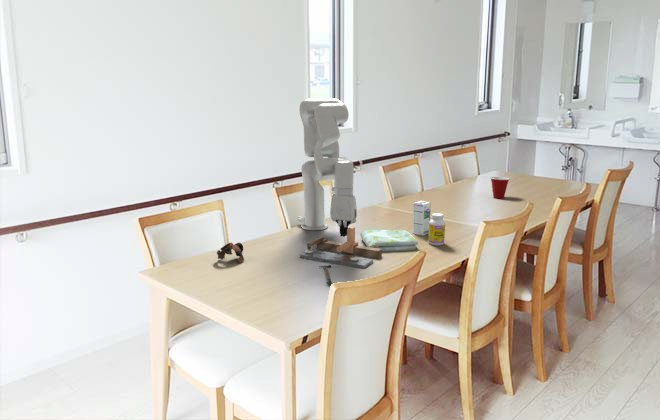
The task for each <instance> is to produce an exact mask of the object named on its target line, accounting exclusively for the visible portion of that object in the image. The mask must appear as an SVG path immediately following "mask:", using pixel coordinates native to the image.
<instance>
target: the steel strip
mask: <svg viewBox="0 0 660 420" xmlns="http://www.w3.org/2000/svg"><path fill="white" fill-rule="evenodd" d="M300 258H301V259H306V260H312V261H319V262H323V263H329V264H336V265H341V266H348V267H353V268H358V269H366V268H367V267H369V266H370V265H372V264H373V262H374V259H373V258H366V257H361V256H358V255H348V254H342V253H341V254H340V255H338V254H337V252H330V251H325V250H324V251H323V250H319V249H317V250H316V249H312V248H311V250H307V248H306V249H305V250H304V252H302V253H300V254H299V259H300Z"/></svg>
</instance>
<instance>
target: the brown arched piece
mask: <svg viewBox="0 0 660 420" xmlns="http://www.w3.org/2000/svg"><path fill="white" fill-rule="evenodd" d="M232 250H233V252H234V254H235V255H236V257H238V258H237V261H238V263H239V264H241V263H243V262H244V261H245V258H244V255H243V252H244V245H243V244H242V243H241V242H236V243H235V244H234V242H229V243H226V244H225V245H223V246H222V247H221V248H220V249H218V250H217V251H216V255H217V259H218V260H221V259H226V255H229V256H231V255H233V252H232Z"/></svg>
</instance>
